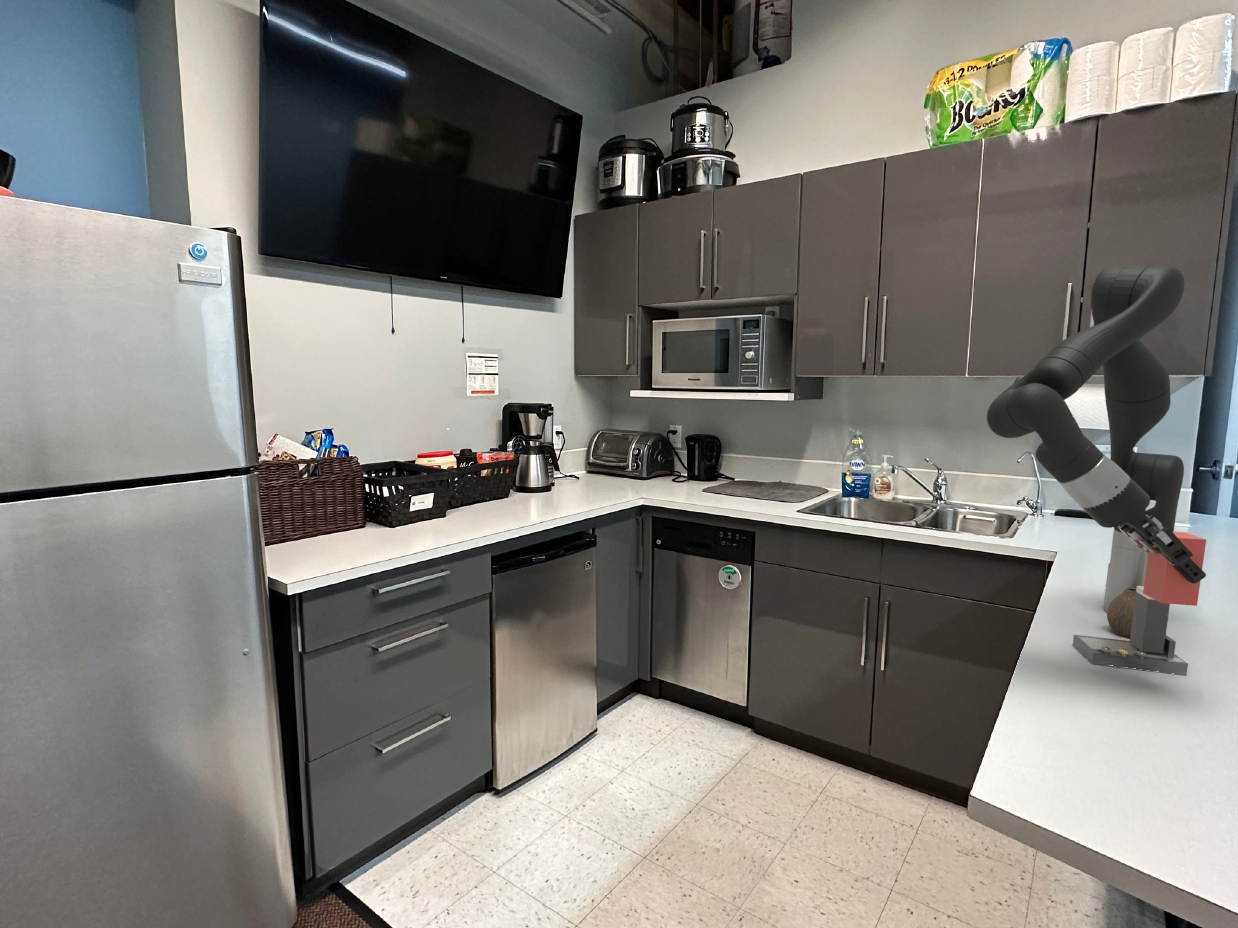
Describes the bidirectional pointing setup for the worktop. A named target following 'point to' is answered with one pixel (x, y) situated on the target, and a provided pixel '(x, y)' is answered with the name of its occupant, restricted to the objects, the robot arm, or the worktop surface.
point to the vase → (1122, 612)
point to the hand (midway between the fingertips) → (1187, 573)
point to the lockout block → (1174, 574)
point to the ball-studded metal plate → (1129, 654)
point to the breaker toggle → (1149, 623)
